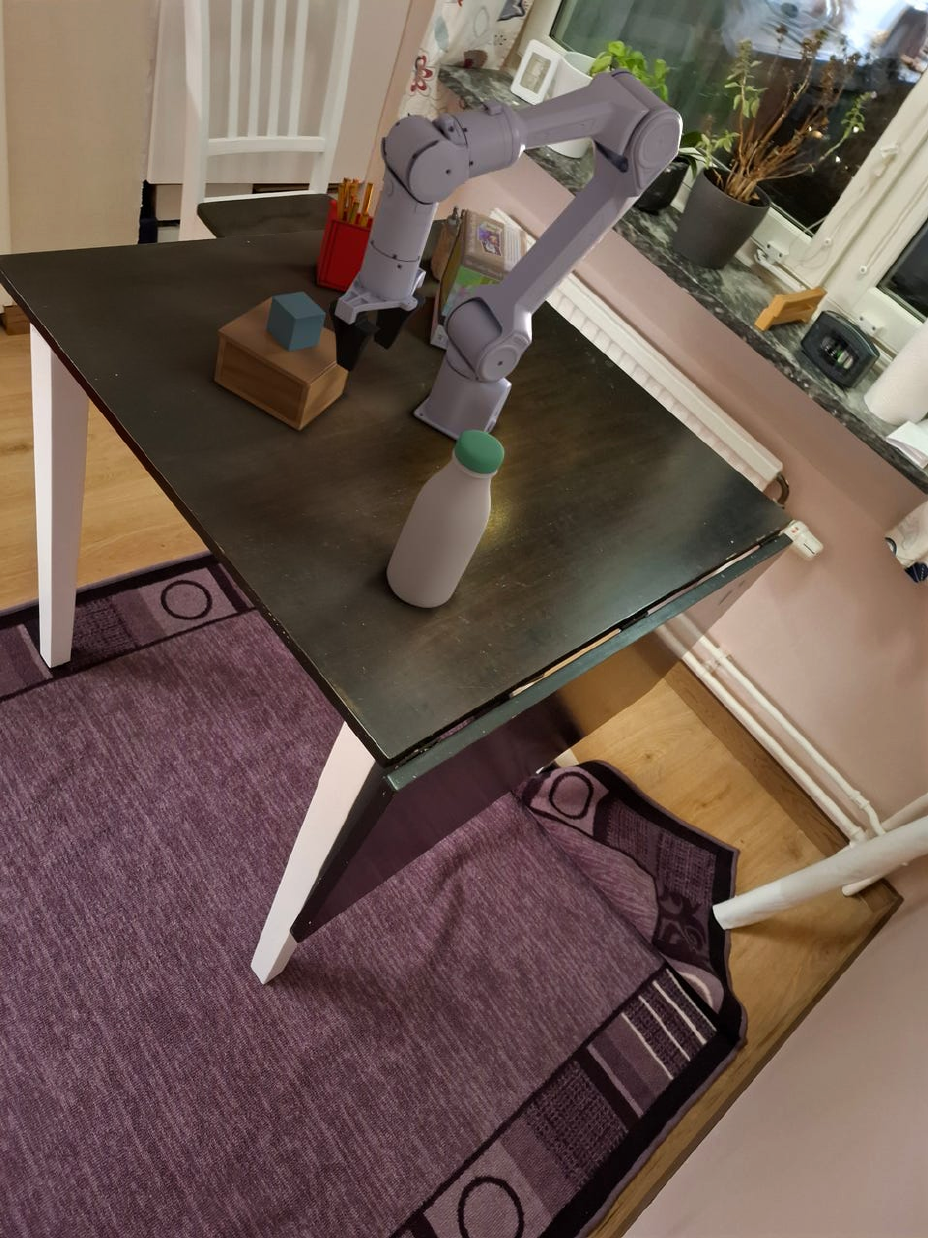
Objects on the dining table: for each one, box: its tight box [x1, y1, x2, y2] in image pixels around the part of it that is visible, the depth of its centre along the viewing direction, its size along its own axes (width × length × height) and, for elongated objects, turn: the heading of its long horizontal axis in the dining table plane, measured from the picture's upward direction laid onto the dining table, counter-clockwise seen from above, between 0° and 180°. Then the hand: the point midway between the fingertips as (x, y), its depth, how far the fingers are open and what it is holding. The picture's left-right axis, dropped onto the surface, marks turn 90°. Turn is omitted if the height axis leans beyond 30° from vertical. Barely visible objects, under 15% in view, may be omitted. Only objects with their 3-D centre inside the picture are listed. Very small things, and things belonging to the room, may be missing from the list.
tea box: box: [430, 208, 528, 351], centre depth 122 cm, size 15×10×15 cm
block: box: [267, 291, 327, 352], centre depth 96 cm, size 4×4×4 cm
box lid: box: [216, 296, 337, 388], centre depth 98 cm, size 11×12×1 cm
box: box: [214, 337, 349, 431], centre depth 101 cm, size 11×12×7 cm
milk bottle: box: [386, 430, 505, 609], centre depth 83 cm, size 8×8×20 cm
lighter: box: [430, 205, 467, 282], centre depth 133 cm, size 7×4×10 cm, turn 8°
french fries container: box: [316, 176, 382, 293], centre depth 119 cm, size 7×9×14 cm
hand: (363, 355), depth 95 cm, fingers open, 7 cm apart
